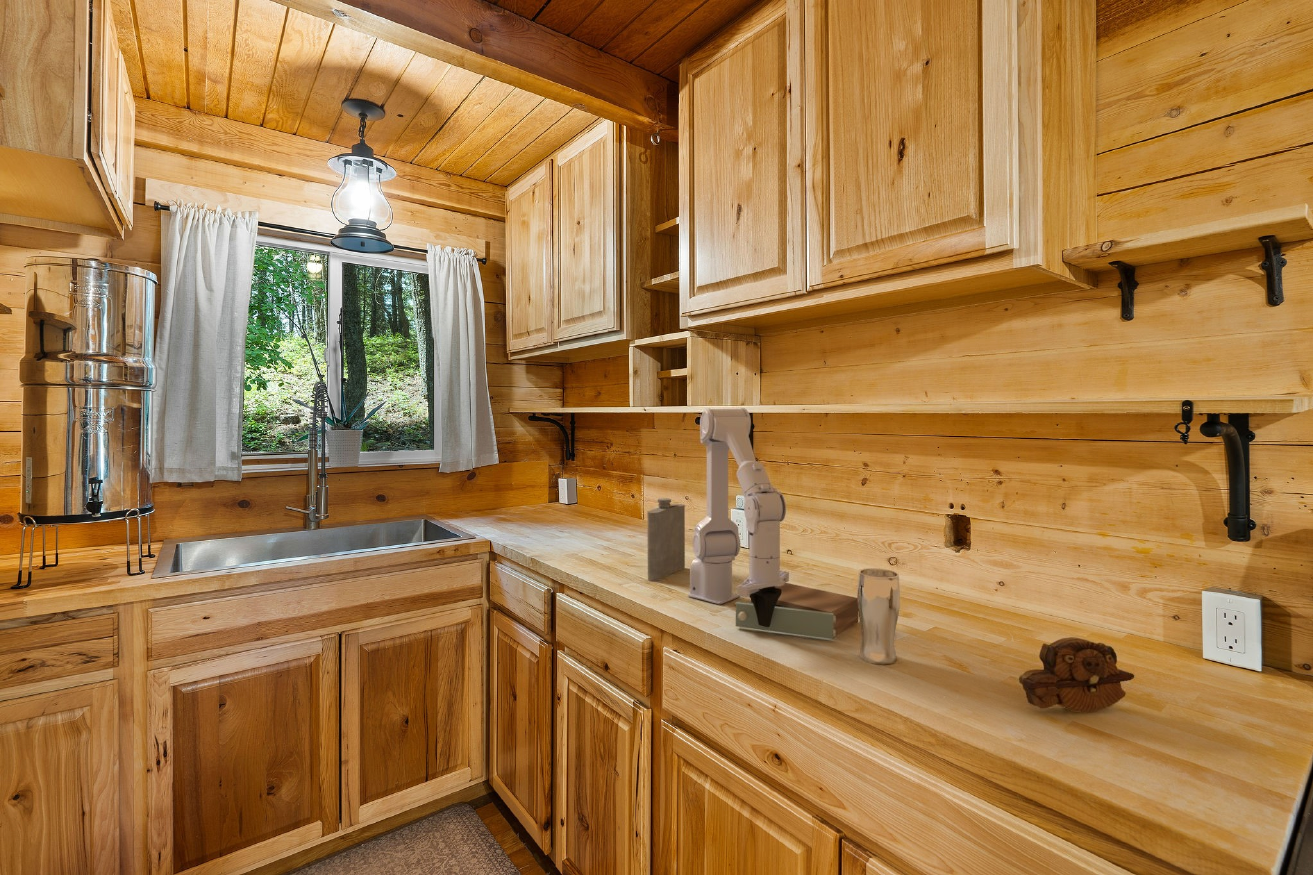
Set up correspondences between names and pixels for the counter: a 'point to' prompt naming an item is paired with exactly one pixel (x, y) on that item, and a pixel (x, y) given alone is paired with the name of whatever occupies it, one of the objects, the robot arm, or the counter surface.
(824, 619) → the cabinet door
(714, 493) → the robot arm
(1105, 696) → the wooden carving
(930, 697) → the counter surface
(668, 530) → the hip flask
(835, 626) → the cabinet
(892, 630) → the beer glass
